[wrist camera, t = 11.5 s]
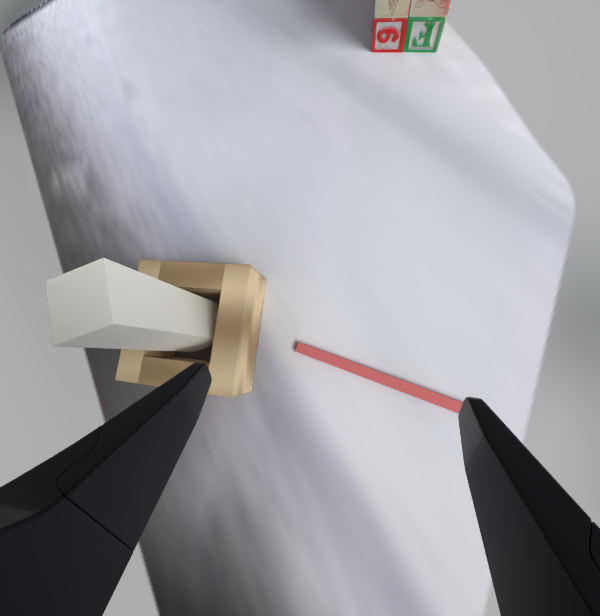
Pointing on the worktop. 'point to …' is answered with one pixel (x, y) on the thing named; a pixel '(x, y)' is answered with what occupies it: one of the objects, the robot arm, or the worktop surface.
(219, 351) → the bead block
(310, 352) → the red square stick
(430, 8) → the stack of blocks
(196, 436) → the worktop surface
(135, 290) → the white rectangular block
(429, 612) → the worktop surface
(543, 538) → the robot arm
